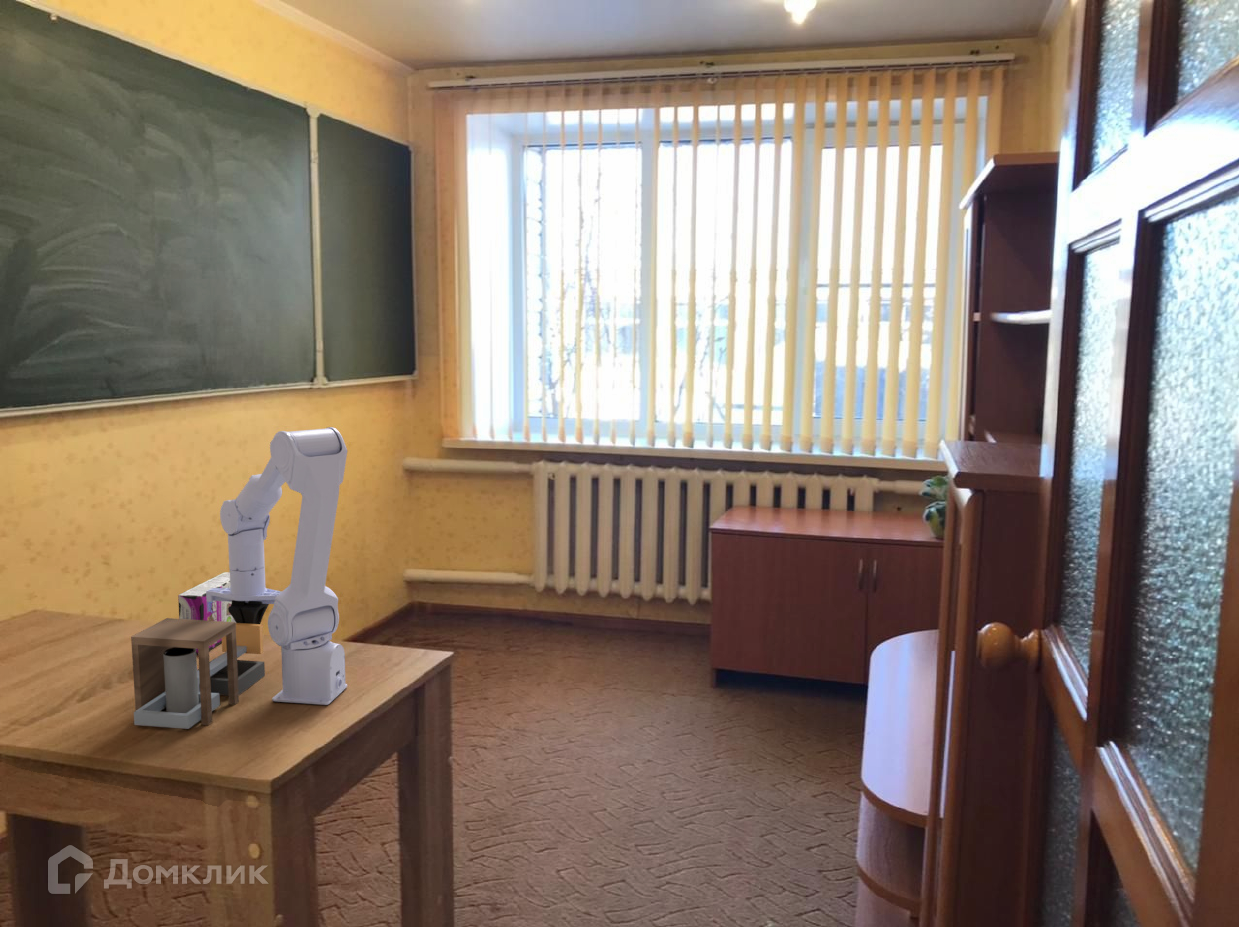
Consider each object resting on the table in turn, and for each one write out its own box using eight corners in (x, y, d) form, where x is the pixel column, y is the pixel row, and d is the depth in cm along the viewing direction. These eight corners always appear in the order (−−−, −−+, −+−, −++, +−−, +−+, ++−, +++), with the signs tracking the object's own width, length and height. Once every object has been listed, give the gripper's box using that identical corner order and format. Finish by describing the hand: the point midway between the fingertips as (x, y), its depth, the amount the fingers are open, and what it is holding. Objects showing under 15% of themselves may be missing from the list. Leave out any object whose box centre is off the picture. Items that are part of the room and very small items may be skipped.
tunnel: (238, 701, 149) (235, 622, 147) (208, 725, 140) (203, 641, 138) (171, 696, 150) (166, 618, 148) (136, 719, 142) (131, 636, 140)
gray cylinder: (164, 721, 141) (160, 657, 140) (169, 709, 145) (166, 646, 144) (196, 718, 142) (193, 654, 141) (201, 707, 147) (198, 644, 145)
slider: (268, 668, 162) (266, 624, 161) (188, 728, 138) (186, 677, 137) (221, 665, 163) (219, 621, 162) (134, 724, 139) (131, 673, 138)
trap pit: (264, 675, 160) (264, 661, 160) (237, 695, 151) (237, 681, 151) (215, 672, 161) (214, 658, 161) (185, 692, 152) (184, 677, 152)
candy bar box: (177, 652, 170) (225, 625, 186) (203, 654, 169) (249, 627, 185) (175, 593, 168) (224, 571, 184) (201, 595, 168) (248, 572, 184)
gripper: (297, 563, 165) (300, 637, 167) (220, 559, 166) (223, 632, 168) (278, 573, 158) (281, 650, 160) (198, 569, 159) (201, 645, 162)
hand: (250, 642), depth 164 cm, fingers closed, pressing on slider
